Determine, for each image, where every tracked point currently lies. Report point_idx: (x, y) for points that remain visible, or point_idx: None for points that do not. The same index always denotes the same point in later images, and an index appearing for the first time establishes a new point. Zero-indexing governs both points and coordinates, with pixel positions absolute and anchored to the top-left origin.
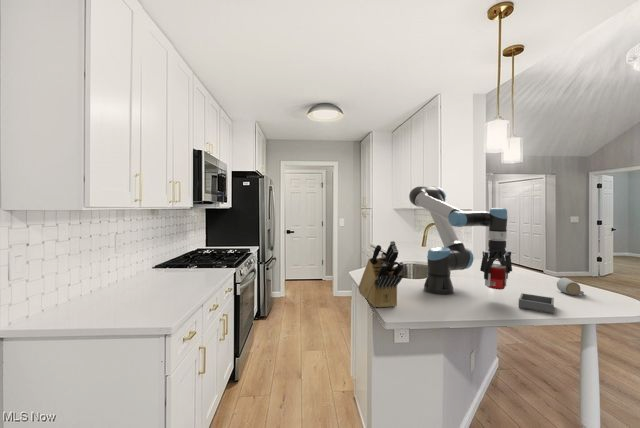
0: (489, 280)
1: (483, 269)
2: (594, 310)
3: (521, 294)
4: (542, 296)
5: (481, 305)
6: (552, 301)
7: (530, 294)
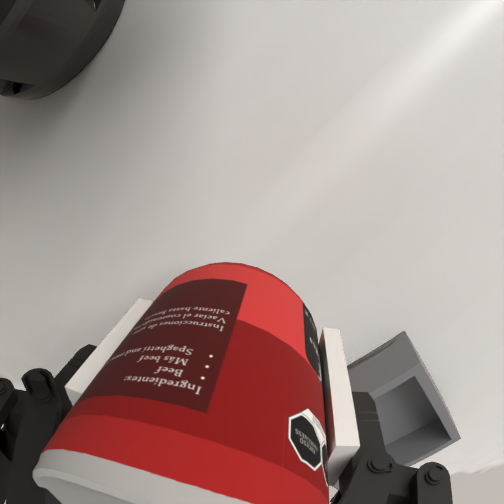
0: None
1: (4, 435)
2: (500, 438)
3: (388, 384)
4: (446, 422)
5: (109, 320)
6: None
7: (436, 390)
